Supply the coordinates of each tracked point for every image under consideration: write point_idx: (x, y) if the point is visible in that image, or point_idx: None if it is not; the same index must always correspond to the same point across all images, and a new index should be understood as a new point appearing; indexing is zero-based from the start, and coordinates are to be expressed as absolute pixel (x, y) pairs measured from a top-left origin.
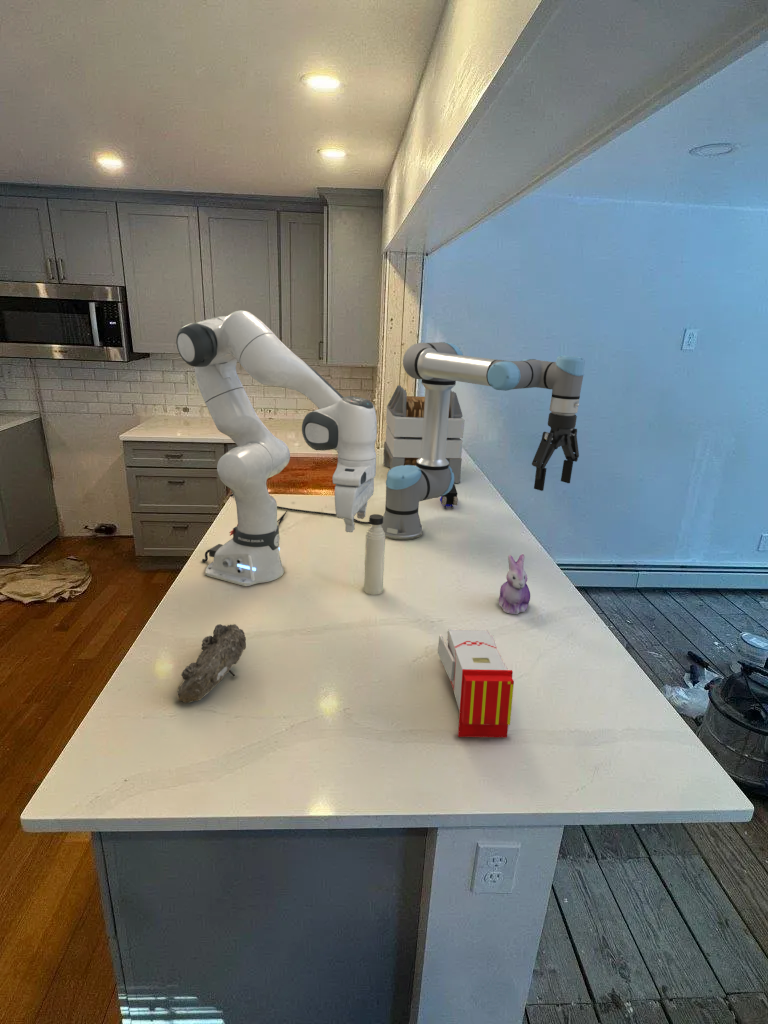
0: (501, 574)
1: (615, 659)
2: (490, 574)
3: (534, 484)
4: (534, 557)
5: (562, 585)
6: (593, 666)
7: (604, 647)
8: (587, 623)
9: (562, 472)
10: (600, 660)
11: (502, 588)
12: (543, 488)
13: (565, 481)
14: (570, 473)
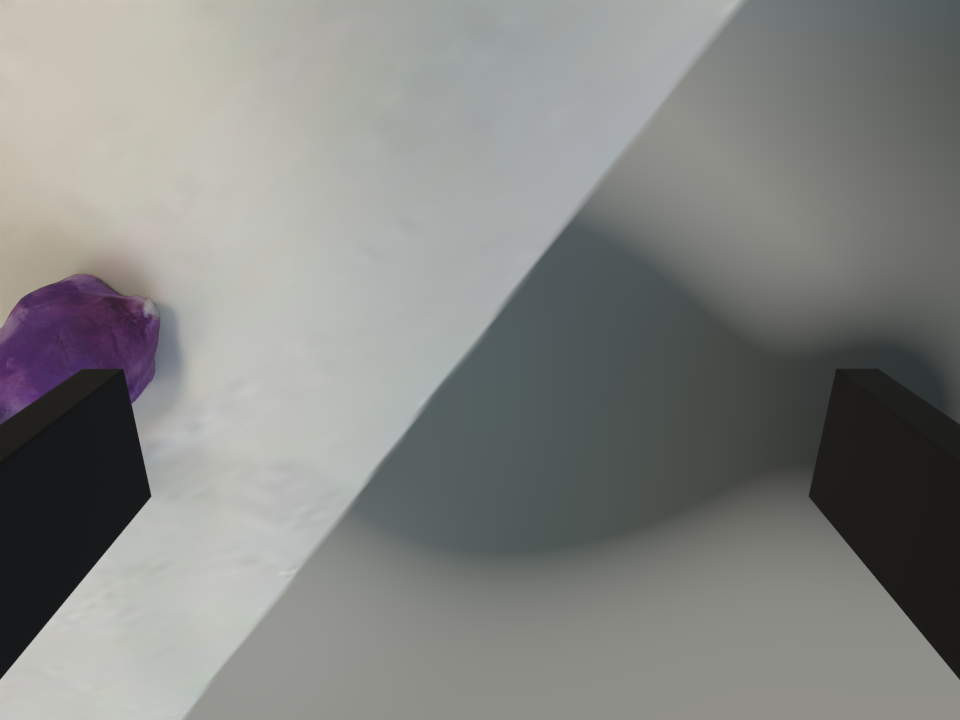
0: (283, 93)
1: (167, 695)
2: (227, 53)
3: (37, 401)
4: (636, 61)
5: (452, 355)
6: (77, 679)
7: (191, 655)
8: (266, 564)
9: (929, 453)
10: (121, 677)
11: (5, 322)
12: (131, 515)
13: (825, 456)
14: (915, 606)
